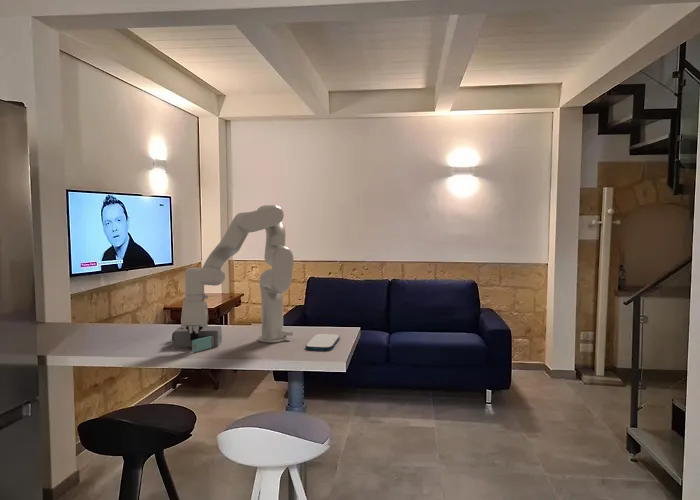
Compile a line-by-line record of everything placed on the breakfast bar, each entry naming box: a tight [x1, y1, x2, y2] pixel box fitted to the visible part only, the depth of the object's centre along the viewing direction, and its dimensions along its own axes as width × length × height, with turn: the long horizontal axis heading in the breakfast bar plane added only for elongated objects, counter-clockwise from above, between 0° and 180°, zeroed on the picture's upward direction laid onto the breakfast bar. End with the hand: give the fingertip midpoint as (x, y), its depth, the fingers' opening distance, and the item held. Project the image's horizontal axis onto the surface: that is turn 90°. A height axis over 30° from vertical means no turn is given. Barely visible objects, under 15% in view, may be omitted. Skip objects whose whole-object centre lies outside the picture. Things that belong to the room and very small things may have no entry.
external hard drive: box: [305, 333, 341, 352], centre depth 218 cm, size 24×12×2 cm, turn 171°
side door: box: [191, 336, 215, 353], centre depth 206 cm, size 10×2×5 cm, turn 144°
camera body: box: [171, 325, 223, 349], centre depth 215 cm, size 20×10×8 cm, turn 94°
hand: (194, 342), depth 206 cm, fingers closed
